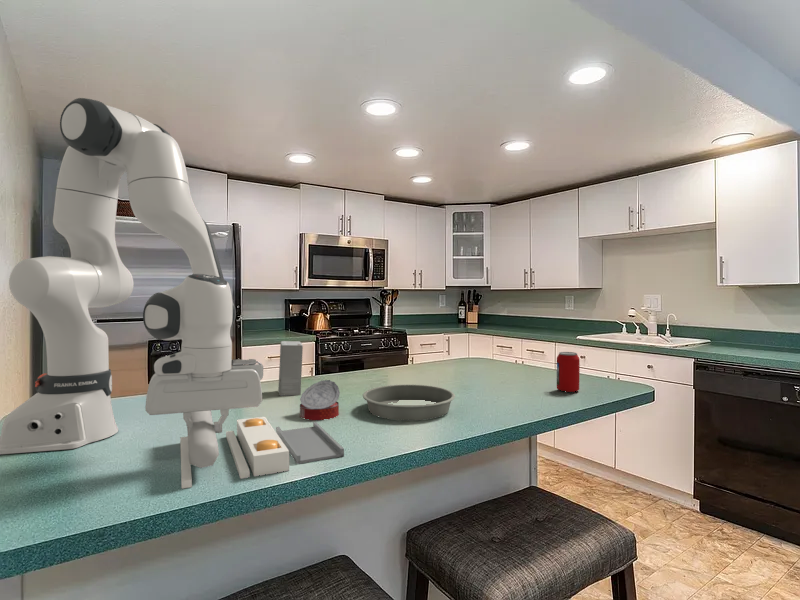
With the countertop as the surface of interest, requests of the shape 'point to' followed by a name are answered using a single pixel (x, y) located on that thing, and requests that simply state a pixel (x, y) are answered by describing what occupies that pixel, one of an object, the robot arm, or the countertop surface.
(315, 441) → the tray
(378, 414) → the cake pan
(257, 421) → the rear plunger
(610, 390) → the countertop surface
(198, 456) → the tube
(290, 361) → the skincare box
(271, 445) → the front plunger
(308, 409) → the canned food
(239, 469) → the housing
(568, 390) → the beverage can
